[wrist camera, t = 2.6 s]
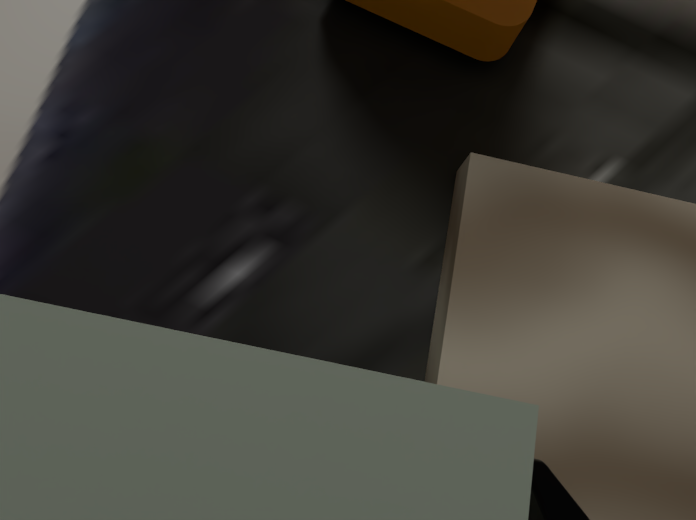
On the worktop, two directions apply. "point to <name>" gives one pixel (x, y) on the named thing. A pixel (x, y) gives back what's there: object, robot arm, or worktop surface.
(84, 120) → the worktop surface
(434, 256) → the worktop surface
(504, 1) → the bracket
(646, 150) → the worktop surface
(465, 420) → the grey-green notched block
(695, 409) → the cleat board
